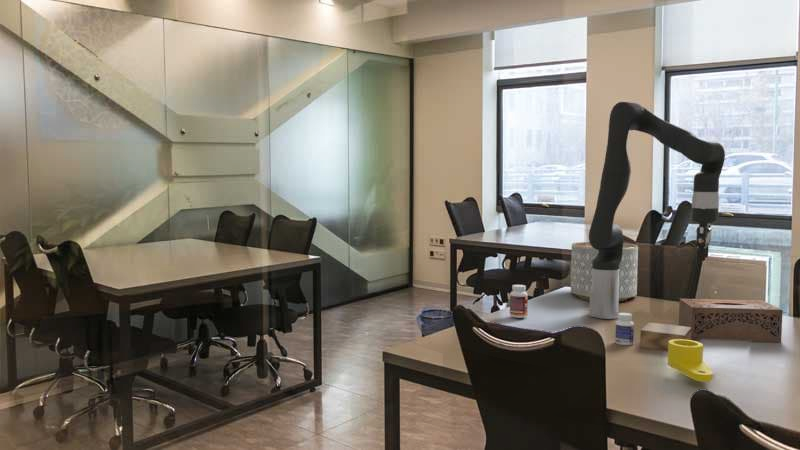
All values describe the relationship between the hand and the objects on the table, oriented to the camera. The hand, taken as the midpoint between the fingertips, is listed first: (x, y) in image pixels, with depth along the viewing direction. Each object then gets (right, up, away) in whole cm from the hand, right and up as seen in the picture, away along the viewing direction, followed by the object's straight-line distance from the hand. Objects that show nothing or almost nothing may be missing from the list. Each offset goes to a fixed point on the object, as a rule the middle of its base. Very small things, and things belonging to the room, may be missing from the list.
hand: (702, 258), depth 203 cm
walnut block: (-15, -25, -9) cm, 31 cm away
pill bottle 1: (-51, -22, +31) cm, 64 cm away
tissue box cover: (+10, -25, +4) cm, 27 cm away
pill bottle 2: (-27, -25, -7) cm, 37 cm away
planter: (-11, -20, +62) cm, 67 cm away
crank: (-18, -27, -34) cm, 47 cm away
